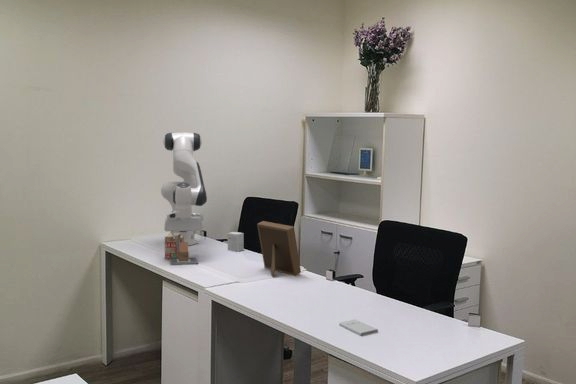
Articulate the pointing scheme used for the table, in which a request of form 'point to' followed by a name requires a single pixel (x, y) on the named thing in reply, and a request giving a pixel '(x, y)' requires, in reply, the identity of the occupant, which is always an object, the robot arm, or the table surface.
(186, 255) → the walnut block
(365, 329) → the external hard drive
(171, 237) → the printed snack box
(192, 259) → the grey flat square plate
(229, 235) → the small box
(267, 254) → the photo frame
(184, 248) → the terracotta block
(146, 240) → the table surface
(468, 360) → the table surface
